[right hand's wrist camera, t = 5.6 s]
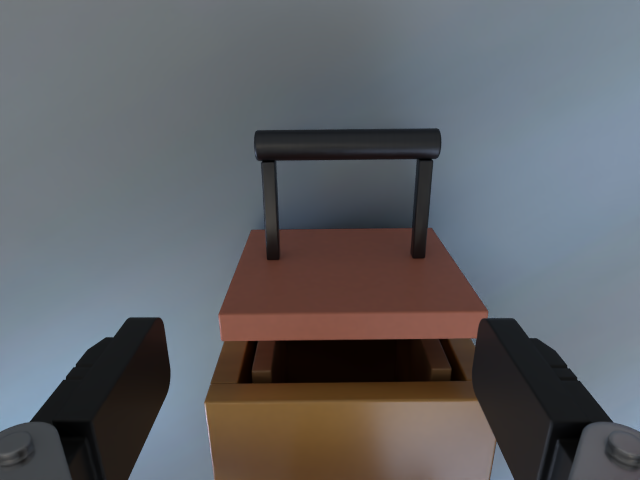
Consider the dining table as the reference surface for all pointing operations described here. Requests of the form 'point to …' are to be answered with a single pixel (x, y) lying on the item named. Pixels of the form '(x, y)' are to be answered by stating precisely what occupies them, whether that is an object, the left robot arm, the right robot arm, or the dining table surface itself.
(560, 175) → the dining table surface
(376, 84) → the dining table surface
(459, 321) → the drawer
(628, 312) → the dining table surface
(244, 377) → the cabinet
